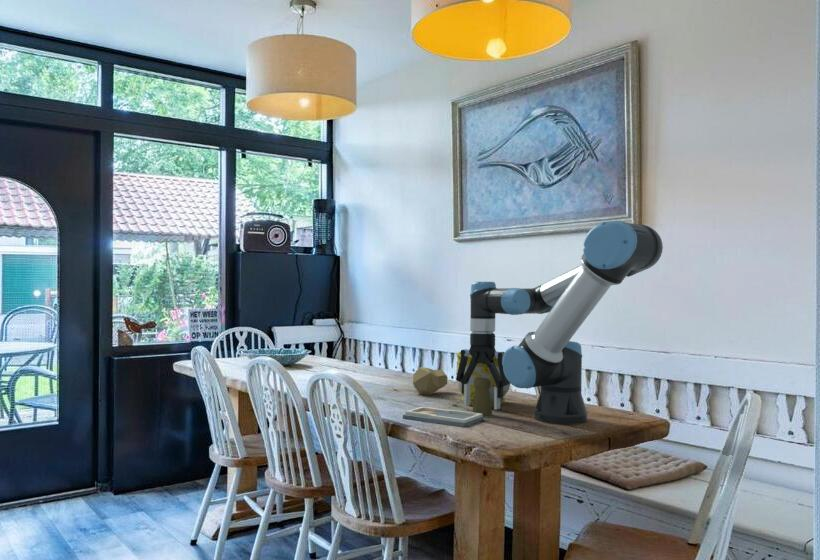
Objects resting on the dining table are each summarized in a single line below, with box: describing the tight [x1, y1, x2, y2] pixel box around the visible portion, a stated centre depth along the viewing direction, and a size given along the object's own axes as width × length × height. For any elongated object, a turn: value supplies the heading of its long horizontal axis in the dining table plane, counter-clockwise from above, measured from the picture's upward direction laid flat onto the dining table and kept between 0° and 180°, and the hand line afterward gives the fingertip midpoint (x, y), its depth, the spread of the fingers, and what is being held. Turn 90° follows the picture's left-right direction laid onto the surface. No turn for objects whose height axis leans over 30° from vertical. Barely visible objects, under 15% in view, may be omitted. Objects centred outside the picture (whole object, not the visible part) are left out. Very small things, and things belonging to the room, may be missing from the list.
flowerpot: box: [456, 351, 511, 407], centre depth 212 cm, size 18×18×16 cm
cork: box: [471, 377, 493, 417], centre depth 193 cm, size 6×6×11 cm
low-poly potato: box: [412, 366, 448, 396], centre depth 229 cm, size 15×11×12 cm
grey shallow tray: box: [402, 406, 485, 428], centre depth 185 cm, size 20×12×2 cm, turn 57°
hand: (481, 406), depth 193 cm, fingers open, 9 cm apart
